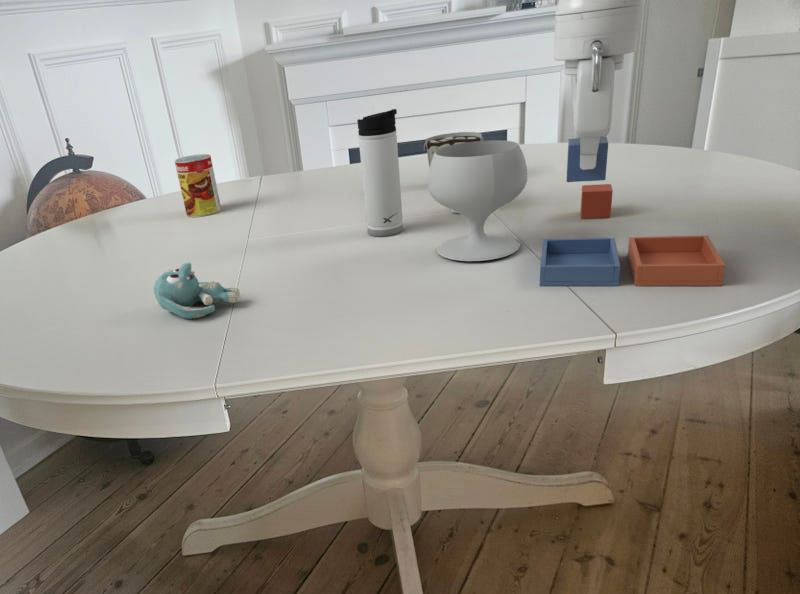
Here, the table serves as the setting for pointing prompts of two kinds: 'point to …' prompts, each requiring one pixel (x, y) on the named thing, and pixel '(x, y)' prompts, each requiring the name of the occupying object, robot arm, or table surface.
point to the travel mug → (380, 173)
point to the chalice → (477, 193)
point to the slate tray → (579, 262)
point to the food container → (449, 141)
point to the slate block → (590, 174)
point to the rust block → (596, 201)
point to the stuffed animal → (190, 293)
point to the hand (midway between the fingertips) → (586, 163)
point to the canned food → (198, 185)
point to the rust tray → (675, 261)
